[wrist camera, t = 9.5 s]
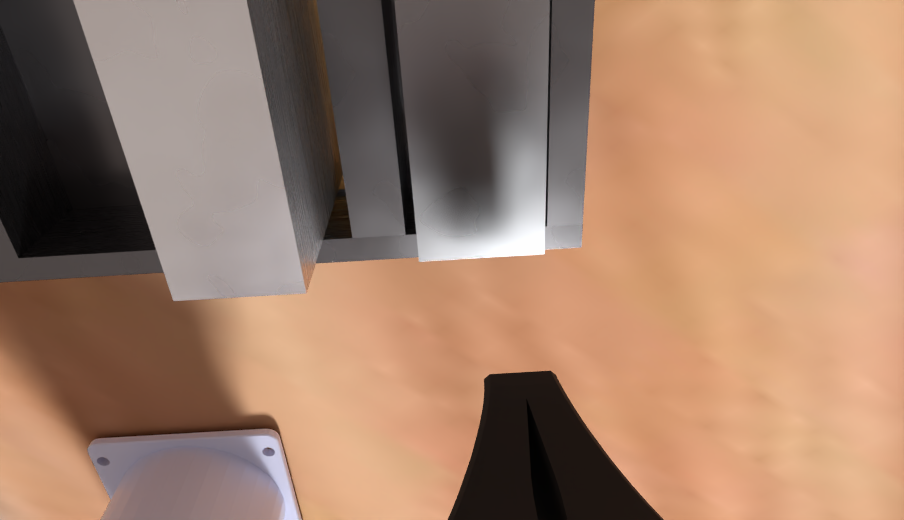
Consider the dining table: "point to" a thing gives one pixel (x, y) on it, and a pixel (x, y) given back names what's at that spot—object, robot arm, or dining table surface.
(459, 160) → the rack
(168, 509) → the robot arm
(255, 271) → the block
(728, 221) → the dining table surface
